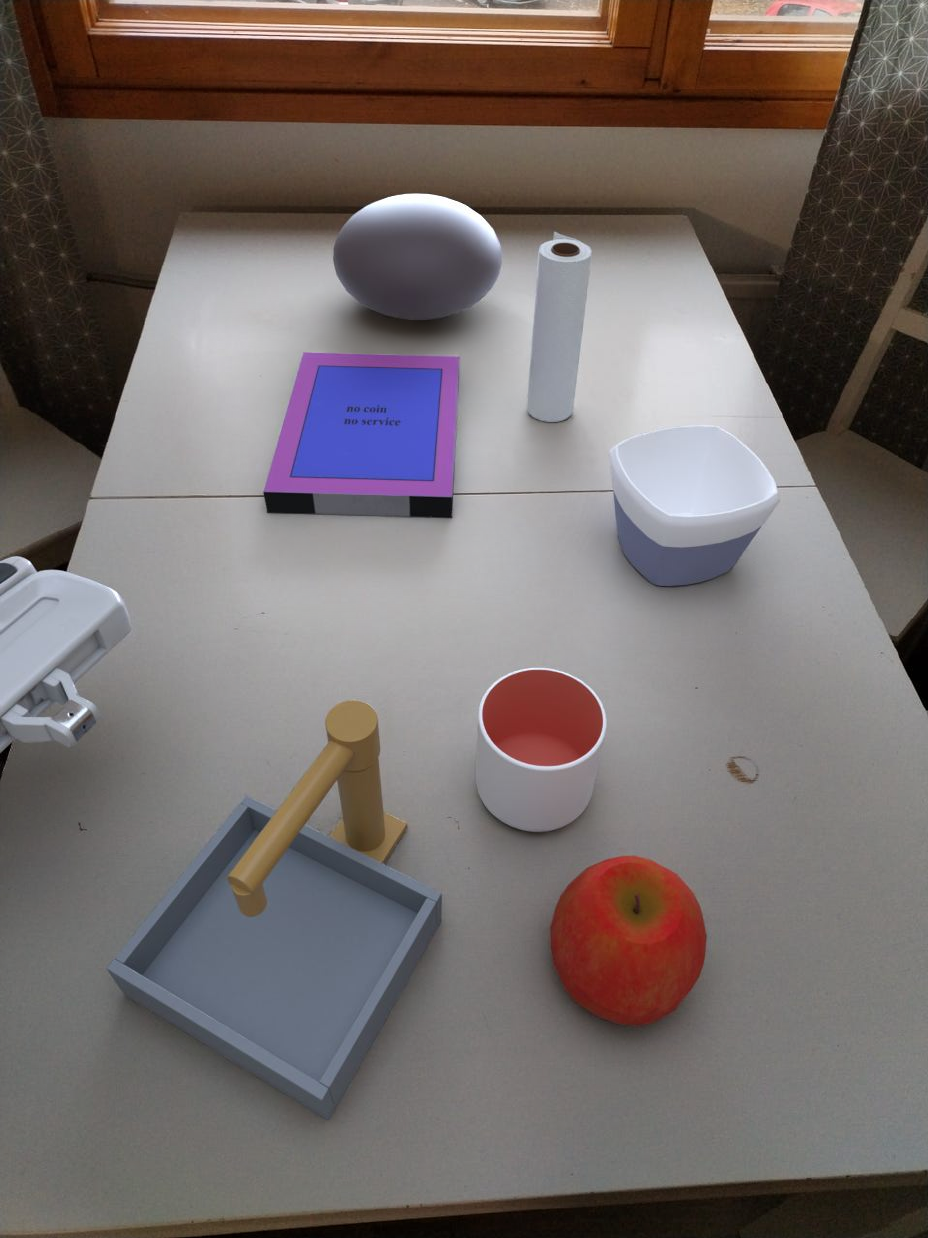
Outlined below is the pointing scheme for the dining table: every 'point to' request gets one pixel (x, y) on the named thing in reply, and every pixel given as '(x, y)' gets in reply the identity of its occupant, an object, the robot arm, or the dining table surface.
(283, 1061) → the sink
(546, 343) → the paper towel roll
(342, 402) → the book
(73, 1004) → the dining table surface
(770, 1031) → the dining table surface
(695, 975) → the apple
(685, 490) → the bowl
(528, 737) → the cup
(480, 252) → the smooth stone
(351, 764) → the spout
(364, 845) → the faucet base
